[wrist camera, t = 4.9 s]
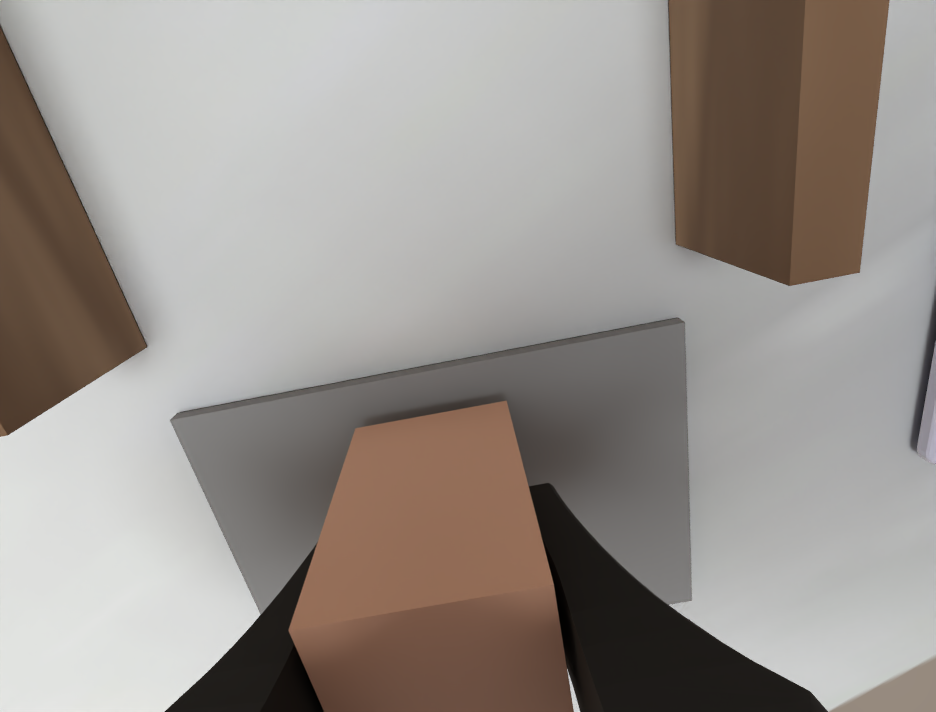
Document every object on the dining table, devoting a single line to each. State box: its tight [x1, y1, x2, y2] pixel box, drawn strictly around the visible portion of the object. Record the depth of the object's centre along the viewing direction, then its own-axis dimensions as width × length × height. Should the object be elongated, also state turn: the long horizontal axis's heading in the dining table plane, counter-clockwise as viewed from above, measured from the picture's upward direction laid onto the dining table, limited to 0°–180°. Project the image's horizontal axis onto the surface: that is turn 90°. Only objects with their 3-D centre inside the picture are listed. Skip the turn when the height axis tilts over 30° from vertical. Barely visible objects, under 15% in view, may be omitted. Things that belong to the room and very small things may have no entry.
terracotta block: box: [288, 401, 574, 712], centre depth 11 cm, size 4×4×6 cm
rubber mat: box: [170, 318, 692, 614], centre depth 15 cm, size 14×10×1 cm
